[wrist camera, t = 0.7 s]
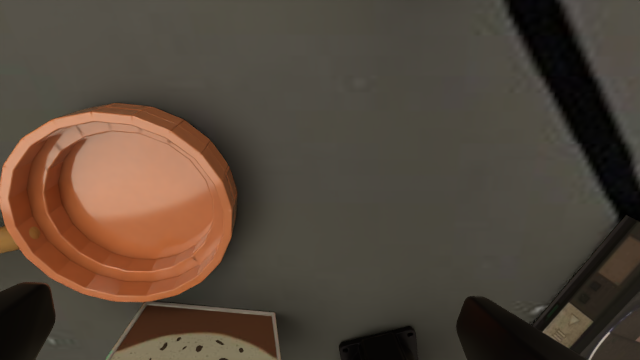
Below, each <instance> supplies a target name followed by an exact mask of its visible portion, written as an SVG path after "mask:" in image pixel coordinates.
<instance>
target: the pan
mask: <svg viewBox="0 0 640 360" xmlns="http://www.w3.org/2000/svg"><path fill="white" fill-rule="evenodd" d="M0 208H1V211H2V215H3V219H4V223H5V227H6V229H7V231H8V232H9V234H10V235H11V237H12V238H13V240H14V241H15V243H16V244H17V246H18V247H19V249H20V250H21V252H22V253H23V255H24V256H25V257H26V258H27V259H29V260H30V261H31V262H32V263H33V264H34V265H36V266H37V267H38V268H39V269H40V270H42V271H43V272H44V273H45V274H46V275H48V276H49V277H50V278H52V279H53V280H55V281H57V282H59V283H61V284H63V285H65V286H67V287H69V288H71V289H73V290H75V291H77V292H80V293H83V294H85V295H89V296H93V297H97V298H102V299H106V300H110V301H114V302H115V301H116V302H150V301H155V300H159V299H163V298H168V297H172V296H176V295H179V294H180V293H182V292H184V291H186V290H188V289H190V288H191V287H193V286H195V285H197V284H199V283H201V282H202V281H203V280H204V279H205V278H206V277H207V276H208V275H209V274H210V273H211V272H212V271H213V270H214V269H215V268H216V267H217V266H218V265H219V264H220V262H221V261H222V258H223V256H224V254H225V252H226V249H227V247H228V245H229V242H230V240H231V237H232V233H233V228H234V224H235V220H236V214H237V189H236V186H235V183H234V180H233V177H232V173H231V170H230V167H229V166H228V164H227V162H226V161H225V159H224V158H223V157H222V155H221V154H220V152H219V151H218V150H217V148H216V147H215V146H214V144H213V143H212V142H211V141H210V139H208V138H207V137H206V136H204V135H203V134H202V133H201V132H199V131H198V130H197V129H195V128H194V127H193V126H191V125H190V124H189V123H188V122H186V121H184V120H183V119H181V118H179V117H176V116H174V115H171V114H169V113H166V112H164V111H161V110H159V109H156V108H154V107H150V106H141V105H131V104H122V103H112V104H107V105H102V106H97V107H92V108H87V109H83V110H80V111H76V112H73V113H70V114H67V115H64V116H61V117H57V118H54V119H52V120H50V121H48V122H47V123H45V124H43V125H42V126H40V127H39V128H37V129H35V130H34V131H32V132H31V133H29V134H27V135H26V136H24V137H23V138H22V139H21V140H20V141H19V143H18V144H17V146H16V147H15V148H14V150H13V151H12V153H11V154H10V156H9V157H8V159H7V160H6V162H5V163H4V164H3V167H2V173H1V180H0ZM31 227H37V228H38V229H39V230H40V237H39V238H38V239H33V238H31V236H30V234H29V230H30V228H31Z"/></svg>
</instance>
